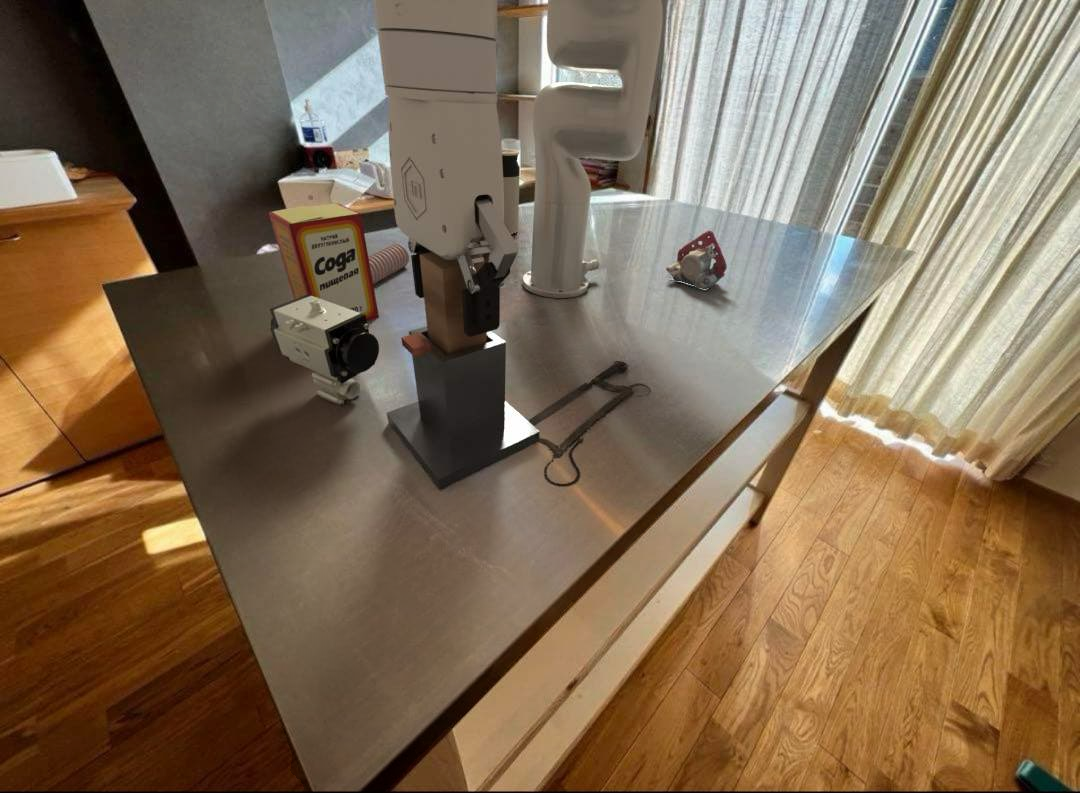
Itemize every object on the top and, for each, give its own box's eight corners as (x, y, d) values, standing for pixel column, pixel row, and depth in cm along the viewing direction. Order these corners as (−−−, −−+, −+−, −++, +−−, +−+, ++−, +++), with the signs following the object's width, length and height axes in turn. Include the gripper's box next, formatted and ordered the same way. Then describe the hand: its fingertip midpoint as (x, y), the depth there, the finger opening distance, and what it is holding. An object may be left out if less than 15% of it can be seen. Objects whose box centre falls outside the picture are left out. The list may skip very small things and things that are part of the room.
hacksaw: (617, 364, 62) (619, 355, 61) (682, 396, 57) (685, 386, 56) (492, 443, 47) (492, 432, 47) (563, 495, 42) (564, 485, 41)
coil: (351, 276, 71) (412, 245, 85) (327, 268, 72) (391, 239, 85) (354, 302, 74) (412, 268, 88) (331, 294, 74) (392, 262, 88)
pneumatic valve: (322, 371, 56) (296, 281, 49) (390, 401, 52) (373, 308, 45) (283, 392, 52) (249, 298, 45) (354, 426, 48) (329, 329, 41)
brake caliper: (737, 273, 88) (736, 233, 79) (708, 312, 87) (703, 276, 78) (691, 258, 94) (685, 219, 85) (663, 295, 93) (654, 259, 84)
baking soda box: (358, 303, 72) (337, 200, 63) (379, 317, 69) (360, 210, 59) (300, 319, 66) (267, 209, 57) (319, 335, 63) (287, 220, 54)
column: (468, 402, 49) (461, 246, 39) (489, 421, 47) (487, 261, 36) (435, 415, 47) (417, 254, 37) (454, 436, 44) (441, 269, 34)
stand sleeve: (480, 388, 55) (477, 293, 47) (538, 441, 47) (546, 338, 40) (388, 423, 48) (368, 319, 41) (439, 490, 41) (427, 379, 34)
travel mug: (516, 237, 107) (519, 154, 96) (484, 235, 107) (483, 151, 96) (518, 228, 113) (521, 149, 102) (488, 226, 113) (487, 147, 102)
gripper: (339, 64, 32) (377, 287, 43) (457, 75, 22) (469, 367, 32) (431, 71, 36) (445, 273, 47) (568, 82, 26) (547, 341, 36)
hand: (455, 311), depth 39 cm, fingers open, 8 cm apart
